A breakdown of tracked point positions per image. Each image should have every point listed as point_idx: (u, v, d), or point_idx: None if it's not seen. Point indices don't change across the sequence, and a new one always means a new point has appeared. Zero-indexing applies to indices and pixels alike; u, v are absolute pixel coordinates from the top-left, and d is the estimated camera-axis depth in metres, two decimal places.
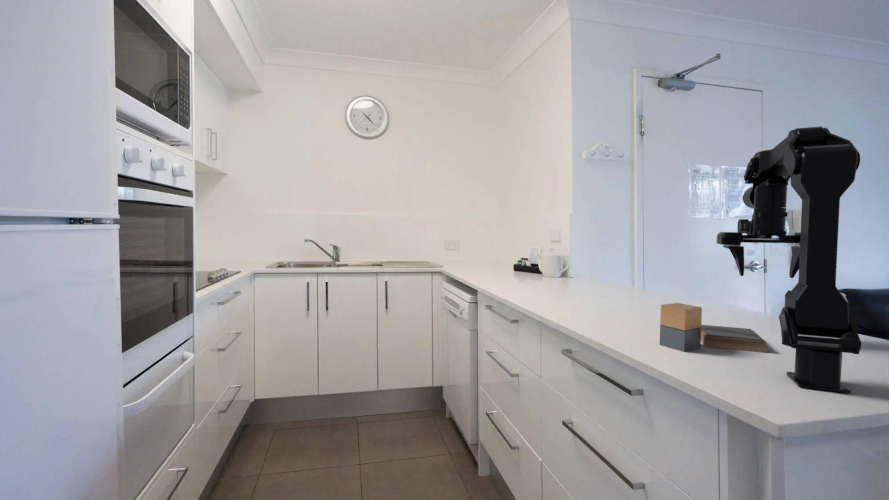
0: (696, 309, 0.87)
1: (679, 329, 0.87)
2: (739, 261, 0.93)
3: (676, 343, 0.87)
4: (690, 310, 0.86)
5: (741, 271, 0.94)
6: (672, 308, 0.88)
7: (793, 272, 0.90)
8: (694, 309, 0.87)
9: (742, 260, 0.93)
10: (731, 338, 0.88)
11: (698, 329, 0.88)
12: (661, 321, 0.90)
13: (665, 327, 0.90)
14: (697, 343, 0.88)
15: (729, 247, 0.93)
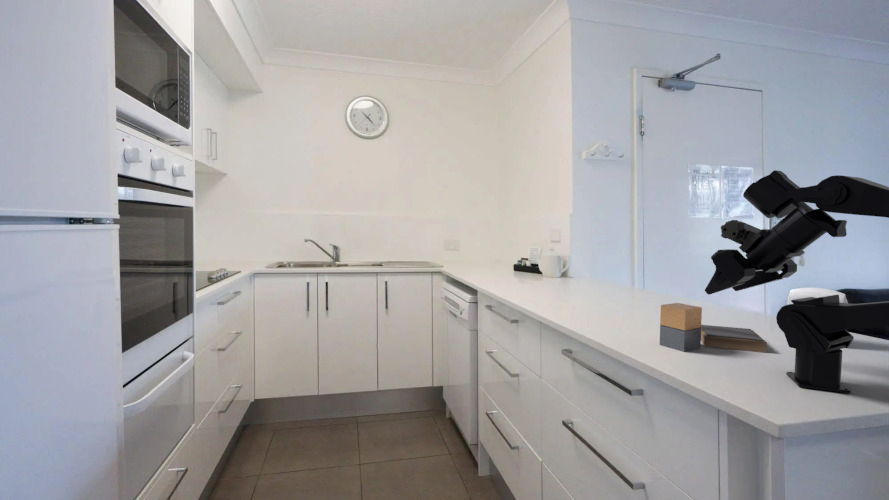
0: (696, 309, 0.87)
1: (679, 329, 0.87)
2: (724, 289, 0.76)
3: (676, 343, 0.87)
4: (690, 310, 0.86)
5: (713, 292, 0.78)
6: (672, 308, 0.88)
7: (742, 289, 0.82)
8: (694, 309, 0.87)
9: (727, 288, 0.76)
10: (731, 338, 0.88)
11: (698, 329, 0.88)
12: (661, 321, 0.90)
13: (665, 327, 0.90)
14: (697, 343, 0.88)
15: (734, 283, 0.72)
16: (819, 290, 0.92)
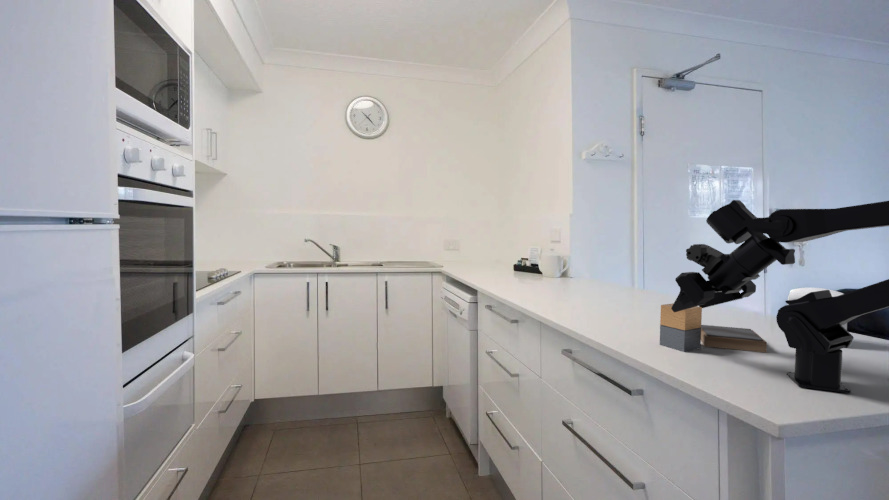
0: (696, 309, 0.87)
1: (679, 329, 0.87)
2: (687, 308, 0.82)
3: (676, 343, 0.87)
4: (690, 310, 0.86)
5: None
6: None
7: (707, 306, 0.89)
8: (694, 309, 0.87)
9: (690, 307, 0.82)
10: (731, 338, 0.88)
11: (698, 329, 0.88)
12: (661, 321, 0.90)
13: (665, 327, 0.90)
14: (697, 343, 0.88)
15: (695, 304, 0.78)
16: (819, 290, 0.92)
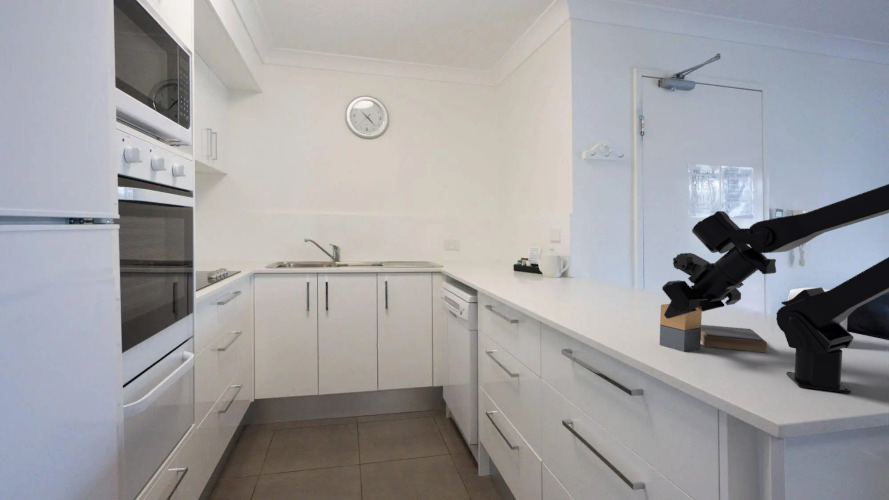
0: (696, 309, 0.87)
1: (679, 329, 0.87)
2: None
3: (676, 343, 0.87)
4: None
5: (671, 317, 0.88)
6: None
7: None
8: None
9: (682, 314, 0.85)
10: (731, 338, 0.88)
11: (698, 329, 0.88)
12: (661, 321, 0.90)
13: (665, 327, 0.90)
14: (696, 343, 0.88)
15: (687, 311, 0.82)
16: None
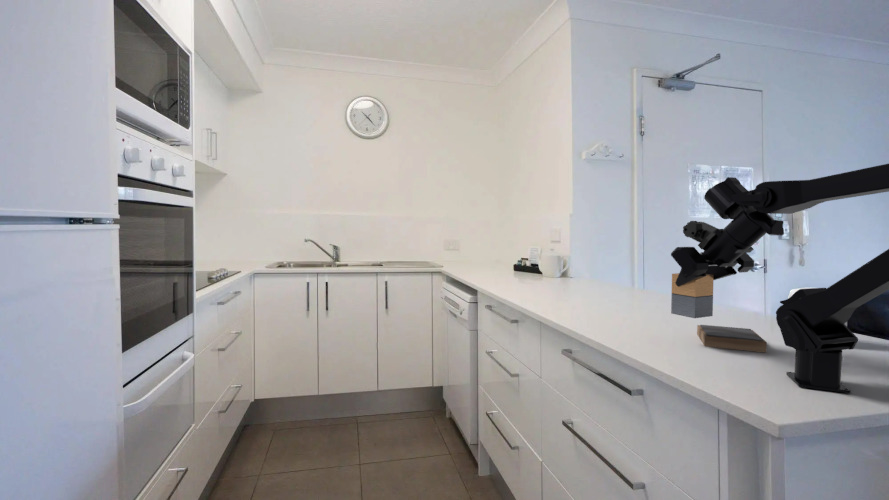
0: (707, 276, 0.88)
1: (690, 296, 0.88)
2: (689, 281, 0.87)
3: (687, 310, 0.88)
4: None
5: None
6: None
7: None
8: (705, 276, 0.88)
9: (692, 281, 0.86)
10: (731, 338, 0.88)
11: (709, 297, 0.88)
12: (672, 289, 0.92)
13: (676, 295, 0.91)
14: (708, 311, 0.89)
15: (695, 276, 0.83)
16: None
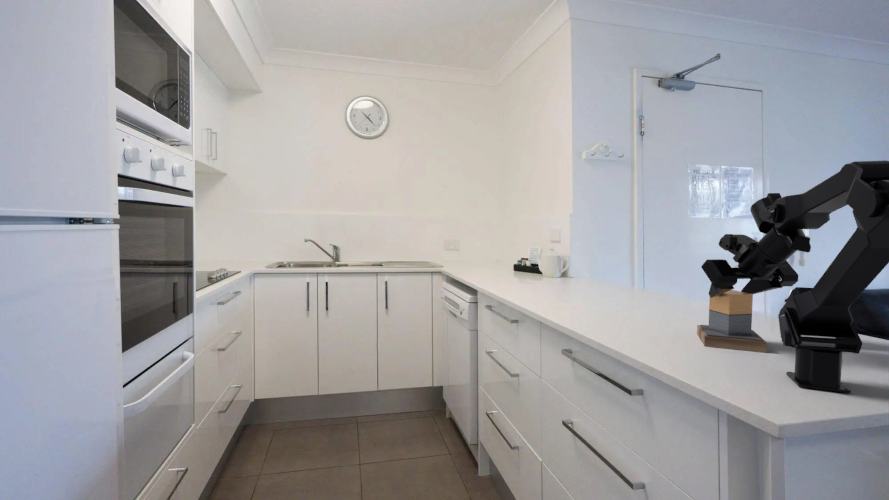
0: (745, 295, 0.89)
1: (724, 313, 0.90)
2: (719, 293, 0.89)
3: (722, 327, 0.91)
4: (736, 295, 0.89)
5: (713, 296, 0.91)
6: None
7: None
8: (742, 295, 0.89)
9: (722, 292, 0.89)
10: (731, 338, 0.88)
11: (747, 315, 0.90)
12: (710, 306, 0.94)
13: (713, 312, 0.93)
14: (746, 329, 0.90)
15: (721, 288, 0.86)
16: None
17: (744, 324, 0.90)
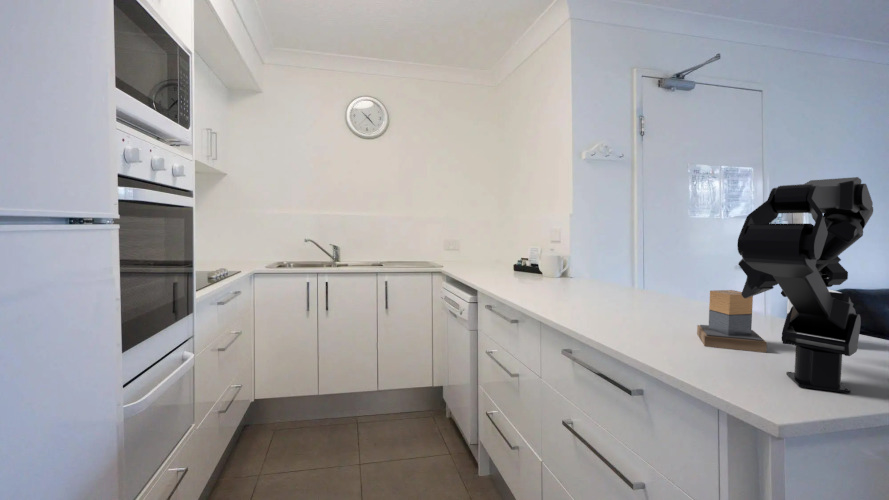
0: None
1: (724, 313, 0.90)
2: (755, 293, 0.79)
3: (722, 327, 0.91)
4: (736, 295, 0.89)
5: (748, 296, 0.82)
6: (719, 293, 0.92)
7: None
8: None
9: (759, 293, 0.79)
10: (731, 338, 0.88)
11: (747, 316, 0.90)
12: (710, 306, 0.94)
13: (713, 312, 0.93)
14: (746, 329, 0.90)
15: (759, 287, 0.76)
16: None
17: (744, 324, 0.90)
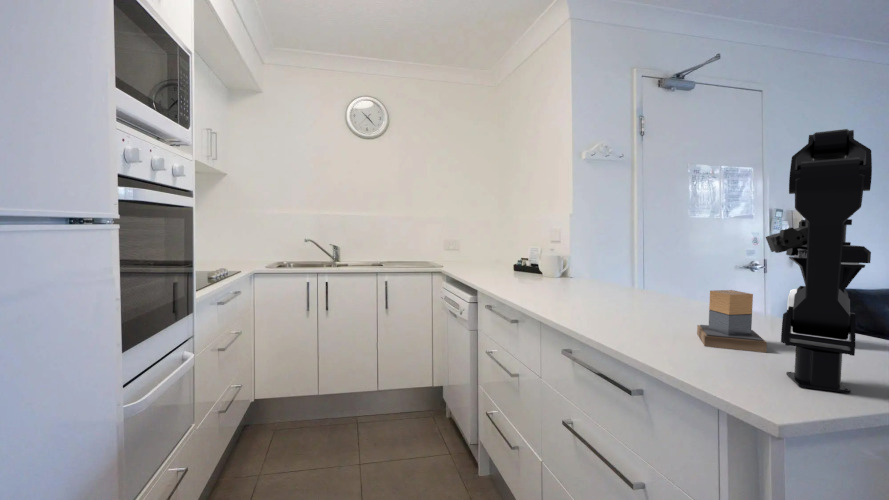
0: (745, 295, 0.89)
1: (724, 313, 0.90)
2: None
3: (722, 327, 0.91)
4: (736, 295, 0.89)
5: None
6: (719, 293, 0.92)
7: None
8: (742, 295, 0.89)
9: None
10: (731, 338, 0.88)
11: (747, 316, 0.90)
12: (710, 306, 0.94)
13: (713, 312, 0.93)
14: (746, 329, 0.90)
15: (864, 266, 0.68)
16: None
17: (744, 324, 0.90)
